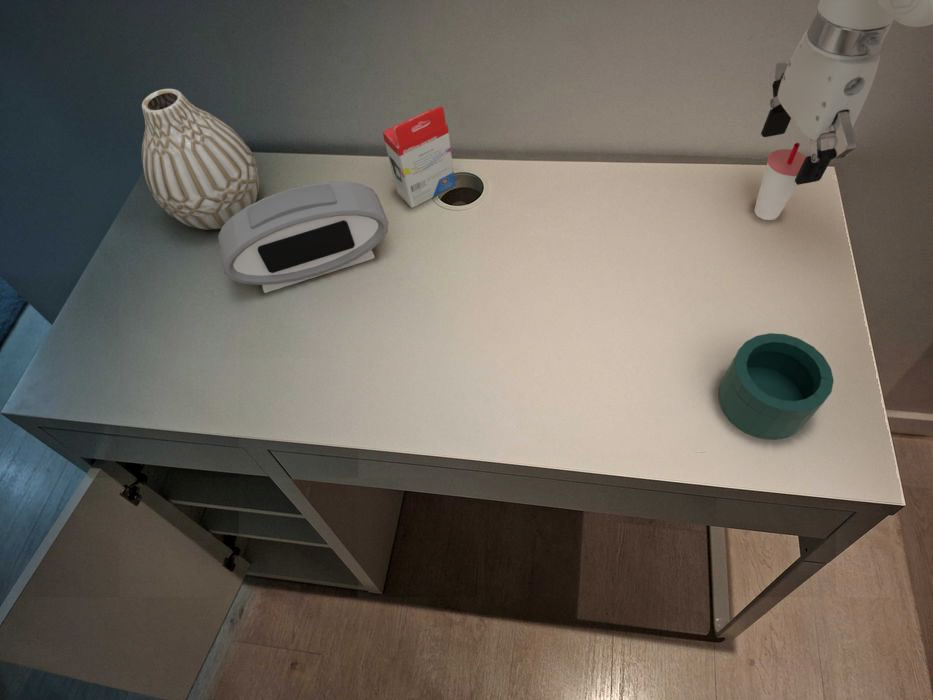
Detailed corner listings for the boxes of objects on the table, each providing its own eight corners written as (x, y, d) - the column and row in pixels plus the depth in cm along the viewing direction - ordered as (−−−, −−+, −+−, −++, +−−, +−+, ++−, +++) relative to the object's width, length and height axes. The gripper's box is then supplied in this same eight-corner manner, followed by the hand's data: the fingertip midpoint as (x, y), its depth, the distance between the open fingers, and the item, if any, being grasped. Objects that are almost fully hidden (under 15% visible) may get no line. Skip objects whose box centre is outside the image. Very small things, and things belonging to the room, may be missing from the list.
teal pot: (783, 359, 73) (805, 326, 67) (823, 430, 67) (851, 400, 62) (705, 374, 73) (720, 342, 67) (739, 447, 67) (759, 418, 61)
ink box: (440, 170, 98) (428, 89, 86) (456, 186, 95) (446, 104, 83) (395, 193, 96) (376, 112, 83) (411, 210, 93) (393, 129, 81)
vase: (262, 166, 102) (211, 54, 86) (280, 226, 94) (227, 114, 77) (170, 195, 100) (99, 86, 84) (180, 259, 91) (103, 151, 75)
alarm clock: (243, 304, 85) (203, 241, 75) (238, 274, 89) (198, 210, 78) (397, 255, 88) (379, 188, 77) (386, 228, 91) (368, 160, 81)
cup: (765, 230, 85) (796, 161, 75) (739, 208, 87) (766, 138, 77) (794, 216, 86) (829, 146, 76) (768, 194, 88) (798, 124, 78)
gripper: (928, 67, 60) (850, 196, 74) (840, -16, 69) (786, 113, 84) (856, 80, 60) (792, 207, 74) (777, -5, 69) (734, 122, 83)
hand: (788, 157), depth 79 cm, fingers open, 9 cm apart
